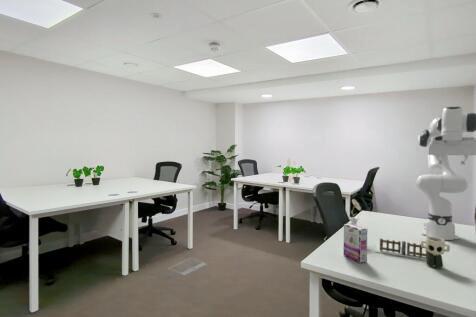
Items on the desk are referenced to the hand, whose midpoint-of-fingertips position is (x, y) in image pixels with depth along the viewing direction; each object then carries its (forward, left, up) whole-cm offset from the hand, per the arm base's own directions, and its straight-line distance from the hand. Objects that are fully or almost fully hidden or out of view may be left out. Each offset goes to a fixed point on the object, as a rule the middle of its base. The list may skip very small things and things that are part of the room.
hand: (451, 164), depth 141 cm
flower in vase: (+3, -46, -47) cm, 66 cm away
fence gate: (+14, -27, -46) cm, 56 cm away
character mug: (+23, -9, -47) cm, 54 cm away
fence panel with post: (+14, -16, -47) cm, 52 cm away
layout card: (+9, -22, -47) cm, 53 cm away
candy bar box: (+31, -43, -47) cm, 71 cm away
